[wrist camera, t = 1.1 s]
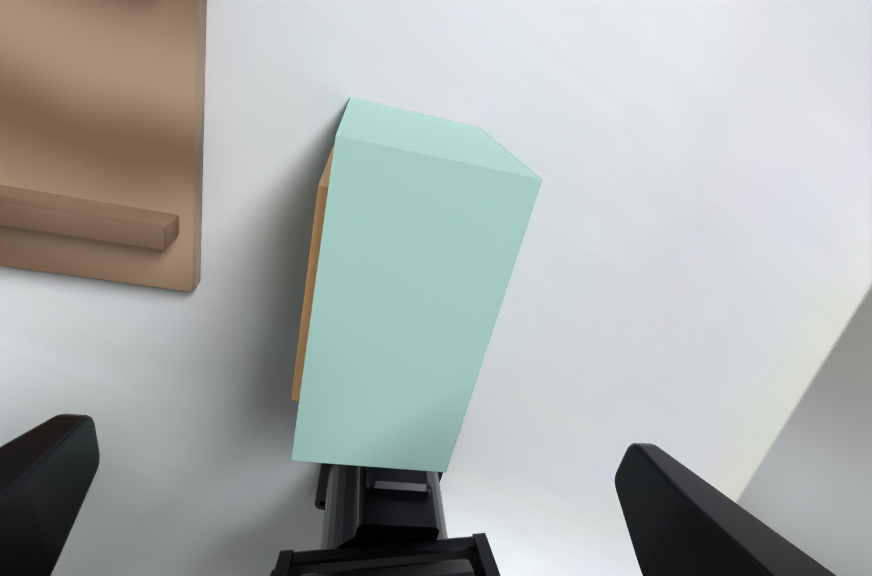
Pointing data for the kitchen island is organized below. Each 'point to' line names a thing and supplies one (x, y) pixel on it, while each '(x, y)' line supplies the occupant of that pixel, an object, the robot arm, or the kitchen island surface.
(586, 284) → the kitchen island surface
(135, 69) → the shelf
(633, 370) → the kitchen island surface
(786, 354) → the kitchen island surface
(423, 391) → the product carton
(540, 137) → the kitchen island surface
